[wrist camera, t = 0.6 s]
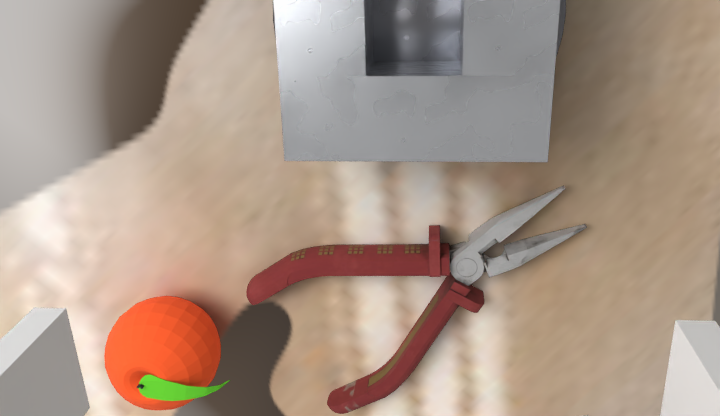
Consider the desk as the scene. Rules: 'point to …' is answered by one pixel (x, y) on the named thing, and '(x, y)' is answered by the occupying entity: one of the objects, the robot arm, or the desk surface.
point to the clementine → (163, 353)
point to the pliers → (415, 261)
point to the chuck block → (417, 79)
